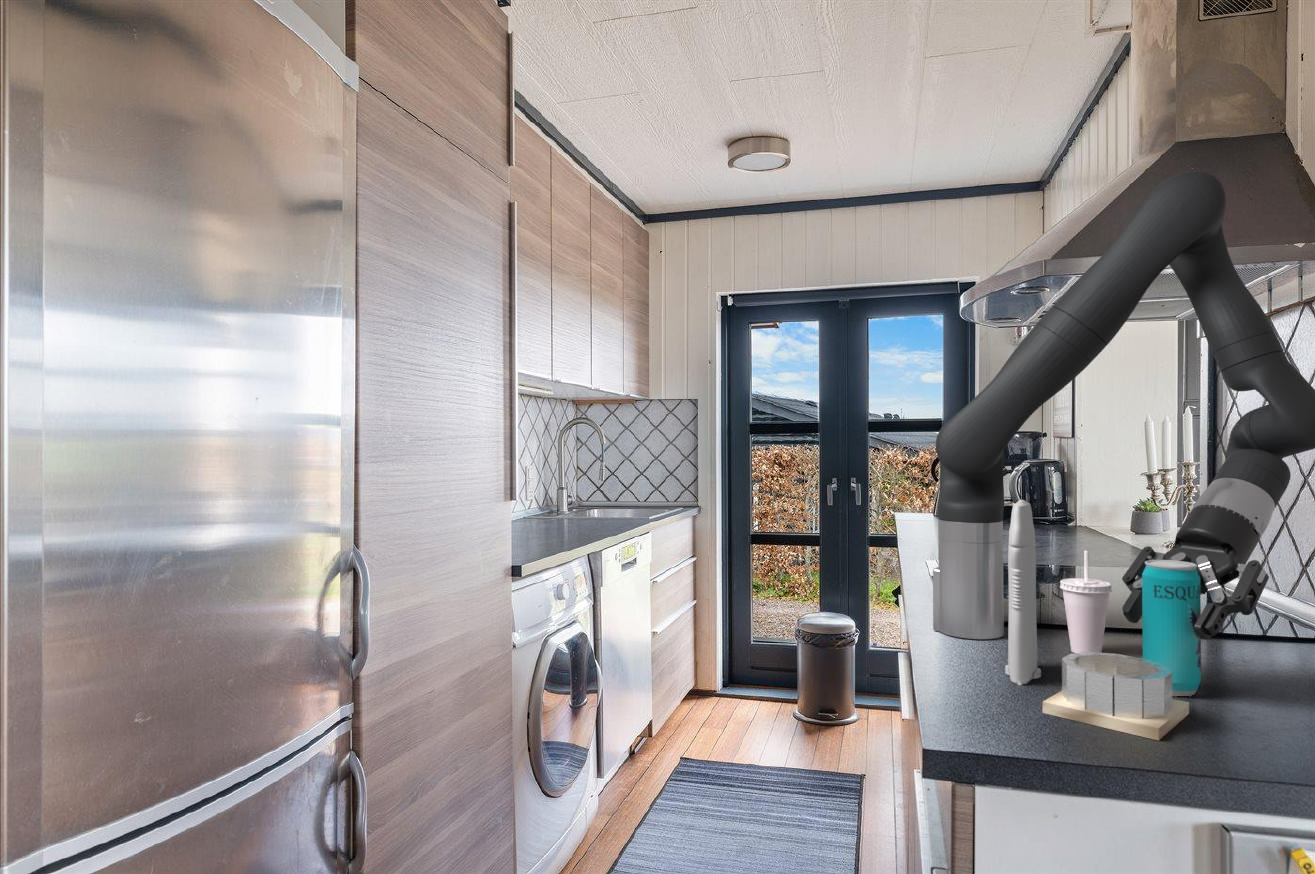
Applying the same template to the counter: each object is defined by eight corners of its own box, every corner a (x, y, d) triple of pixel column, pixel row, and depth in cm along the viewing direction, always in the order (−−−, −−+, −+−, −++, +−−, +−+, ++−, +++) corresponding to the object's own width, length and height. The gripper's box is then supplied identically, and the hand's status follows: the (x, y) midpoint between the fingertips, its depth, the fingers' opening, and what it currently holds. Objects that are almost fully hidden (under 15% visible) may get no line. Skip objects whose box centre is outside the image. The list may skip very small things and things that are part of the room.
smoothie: (1118, 651, 110) (1117, 550, 110) (1105, 660, 106) (1104, 555, 106) (1068, 643, 115) (1067, 546, 115) (1054, 652, 110) (1053, 551, 110)
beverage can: (1202, 701, 89) (1201, 568, 89) (1142, 693, 92) (1141, 564, 92) (1199, 687, 94) (1199, 561, 94) (1143, 680, 97) (1142, 557, 97)
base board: (1042, 712, 86) (1042, 701, 86) (1079, 690, 94) (1079, 680, 94) (1158, 740, 78) (1158, 728, 78) (1189, 713, 86) (1189, 702, 86)
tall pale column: (1036, 688, 94) (1035, 503, 94) (999, 683, 97) (997, 502, 97) (1045, 666, 103) (1044, 497, 103) (1010, 661, 106) (1009, 496, 106)
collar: (1049, 701, 86) (1048, 664, 86) (1082, 681, 93) (1082, 647, 93) (1154, 725, 79) (1154, 685, 79) (1182, 702, 86) (1182, 665, 86)
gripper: (1154, 498, 103) (1092, 594, 98) (1276, 507, 90) (1211, 618, 85) (1181, 537, 105) (1122, 633, 100) (1305, 551, 92) (1243, 662, 87)
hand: (1163, 626), depth 93 cm, fingers open, 8 cm apart
